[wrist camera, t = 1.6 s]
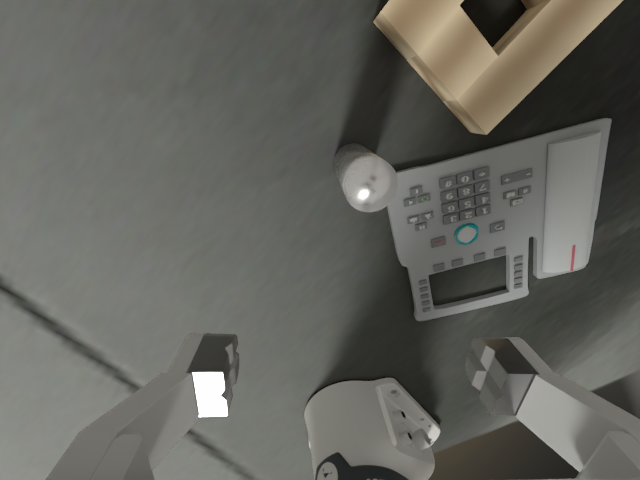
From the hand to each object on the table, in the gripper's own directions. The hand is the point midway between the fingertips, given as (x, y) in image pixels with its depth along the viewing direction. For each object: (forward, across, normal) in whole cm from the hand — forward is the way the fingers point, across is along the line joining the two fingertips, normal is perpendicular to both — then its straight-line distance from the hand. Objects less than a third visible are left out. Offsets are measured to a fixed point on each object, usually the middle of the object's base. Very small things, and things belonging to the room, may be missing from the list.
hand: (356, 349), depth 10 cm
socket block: (+24, -13, -16) cm, 31 cm away
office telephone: (+24, -20, +5) cm, 32 cm away
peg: (+24, -3, -2) cm, 24 cm away
